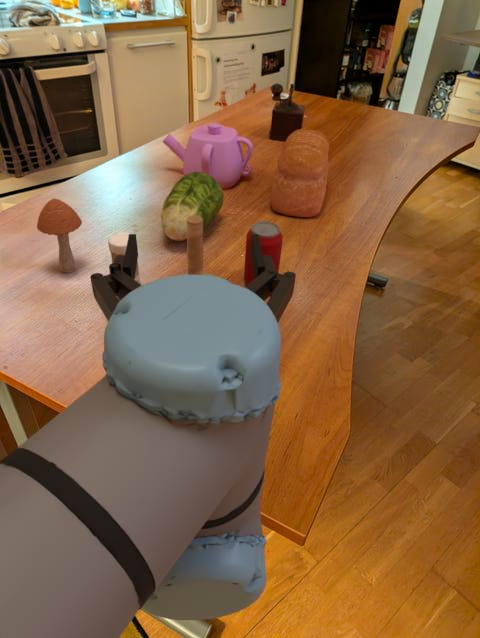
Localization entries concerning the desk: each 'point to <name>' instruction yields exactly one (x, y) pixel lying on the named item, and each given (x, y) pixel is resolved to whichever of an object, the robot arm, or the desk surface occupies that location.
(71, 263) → the mushroom
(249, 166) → the teapot
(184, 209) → the lettuce
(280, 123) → the coffee grinder
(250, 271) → the beverage can
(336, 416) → the desk surface
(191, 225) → the wooden pestle
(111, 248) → the sprinkles bottle
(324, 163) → the bread
